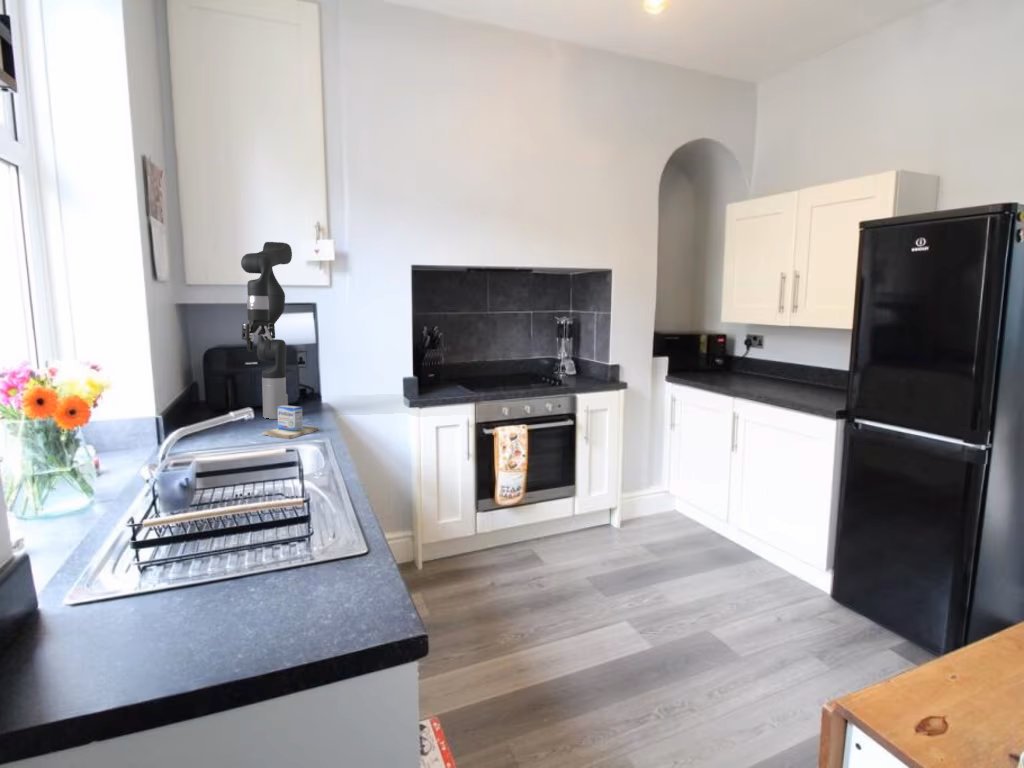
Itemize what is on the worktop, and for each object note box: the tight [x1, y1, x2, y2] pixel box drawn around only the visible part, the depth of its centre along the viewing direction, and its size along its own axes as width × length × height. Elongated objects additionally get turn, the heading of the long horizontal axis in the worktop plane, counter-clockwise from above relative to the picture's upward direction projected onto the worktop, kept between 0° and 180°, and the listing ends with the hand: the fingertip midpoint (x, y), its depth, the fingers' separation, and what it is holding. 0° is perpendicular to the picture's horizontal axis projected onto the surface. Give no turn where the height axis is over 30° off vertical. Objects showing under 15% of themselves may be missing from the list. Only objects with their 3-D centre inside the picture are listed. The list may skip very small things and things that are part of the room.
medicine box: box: [277, 405, 303, 431], centre depth 209 cm, size 8×4×9 cm, turn 73°
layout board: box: [261, 425, 319, 440], centre depth 209 cm, size 16×12×1 cm
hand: (259, 350), depth 213 cm, fingers open, 8 cm apart
